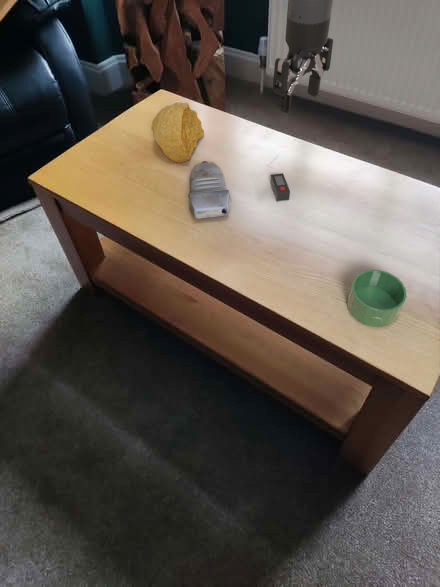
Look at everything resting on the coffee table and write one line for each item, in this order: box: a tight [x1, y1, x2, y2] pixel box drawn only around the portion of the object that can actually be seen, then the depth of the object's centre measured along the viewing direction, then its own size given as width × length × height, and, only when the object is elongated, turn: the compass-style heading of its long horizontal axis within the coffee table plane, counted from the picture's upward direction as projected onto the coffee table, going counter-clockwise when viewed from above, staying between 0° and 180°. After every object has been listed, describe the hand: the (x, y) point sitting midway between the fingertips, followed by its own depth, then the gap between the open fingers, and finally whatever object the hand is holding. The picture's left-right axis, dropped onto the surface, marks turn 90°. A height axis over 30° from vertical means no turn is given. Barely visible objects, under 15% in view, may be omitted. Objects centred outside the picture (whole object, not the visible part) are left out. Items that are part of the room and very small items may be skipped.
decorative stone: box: [151, 102, 205, 163], centre depth 112 cm, size 13×15×15 cm
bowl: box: [346, 269, 407, 328], centre depth 79 cm, size 9×9×5 cm
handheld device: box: [187, 160, 232, 219], centre depth 101 cm, size 10×20×5 cm, turn 6°
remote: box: [269, 172, 291, 202], centre depth 102 cm, size 7×3×3 cm, turn 8°
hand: (299, 102), depth 87 cm, fingers open, 8 cm apart
